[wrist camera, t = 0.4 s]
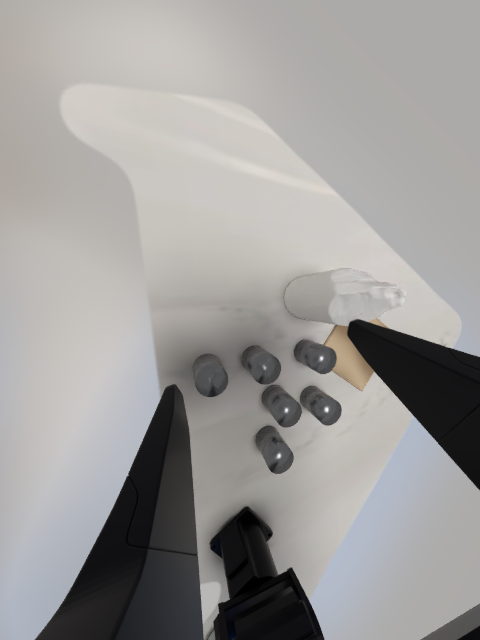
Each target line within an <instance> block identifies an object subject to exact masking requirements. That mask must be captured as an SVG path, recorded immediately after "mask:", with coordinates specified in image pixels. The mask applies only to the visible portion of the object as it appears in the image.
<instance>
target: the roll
mask: <svg viewBox="0 0 480 640" xmlns="http://www.w3.org/2000/svg"><path fill="white" fill-rule="evenodd" d="M406 295H407V293H406V291H405V290H404V289H402V288H400V287H398V286H397V285H395V284H390V283H386V282H378V281H377V280H376V279H375V278H374V277H372V276H371V275H370V274H368V273H366V272H361V271H357V270H354V269H350V268H341V269H336V270H331V271H326V272H322V273H317V274H312V275H308V276H303V277H299V278H296V279H295V280H293V281H292V282H290V284H289V285H288V287H287V288H286V290H285V295H284V302H285V306H286V308H287V309H288V311H289V312H290V313H291V314H292V315H294V316H295V317H297V318H301V319H306V320H312V321H317V322H323V323H329V324H335V325H341V326H349V322H350V321H353V320H355V319H360V320H363V321H367V322H369V321H371V320H374V319H376V318H378V317H380V316H381V315H382V314H384V312H386V311H388V310H390V309H393V308H395V307H398V306H401V305H403V303H404V301H405V297H406Z"/></svg>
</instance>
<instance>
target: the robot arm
mask: <svg viewBox="0 0 480 640" xmlns="http://www.w3.org/2000/svg"><path fill="white" fill-rule="evenodd" d="M347 336H348V338H349V339H350V341H351V342H352V343H353V345H354V346H355V347H356V349H357V350H358V352H359V353H360V354H361V356H362V357H363V359H364V360H365V361H366V362H367V363H368V365H369V366H370V367H371V368H372V369H373V370H374V371H375V373H376V374H377V375H378V376H379V377H380V378H381V379H382V380H383V382H384V383H385V384H386V385H387V386H388V387H389V388H390V390H391V391H392V392H393V393H394V394H395V395H396V396H397V397H398V399H399V400H400V401H401V402H402V403H403V404H404V405H405V406H406V408H407V409H408V410H409V411H410V412H411V413H412V414H413V415H414V417H415V418H416V419H417V420H418V421H419V422H420V423H421V425H422V426H423V427H424V428H425V429H426V430H427V431H428V432H429V434H430V435H431V436H432V437H433V438H434V439H435V440H436V441H437V442H438V444H439V445H440V446H441V447H442V448H443V449H444V451H445V452H446V453H447V454H448V455H449V456H450V457H451V458H452V460H454V462H455V463H456V464H457V465H458V466H459V467H460V468H461V470H462V471H463V472H464V473H465V474H466V475H467V477H468V478H469V479H470V480H471V481H472V482H473V483H474V484H475V486H476V487H477V488H478V489H479V490H480V357H478V356H474V355H470V354H467V353H464V352H461V351H458V350H455V349H451V348H448V347H447V348H446V347H445V346H442V345H439V344H436V343H432V342H429V341H426V340H423V339H420V338H417V337H414V336H410V335H407V334H404V333H401V332H398V331H395V330H392V329H388V328H385V327H382V326H379V325H376V324H373V323H370V322H367V321H363V320H360V319H355V320H353V321H350V322H349V326H348V330H347ZM128 475H129V476H127V478H126V480H125V482H124V485H123V487H122V489H121V491H120V494H119V496H118V498H117V500H116V503H115V505H114V507H113V509H112V511H111V513H110V515H109V517H108V519H107V521H106V523H105V525H104V527H103V529H102V530H101V532H100V534H99V536H98V538H97V540H96V542H95V544H94V546H93V548H92V550H91V551H90V554H89V555H88V557H87V559H86V561H85V563H84V565H83V567H82V569H81V571H80V573H79V574H78V576H77V578H76V580H75V582H74V584H73V586H72V587H71V589H70V591H69V593H68V594H67V596H66V598H65V599H64V601H63V603H62V604H61V605H60V607H59V609H58V610H57V611H56V613H55V614H54V616H53V617H52V619H51V620H50V621H49V623H48V624H47V625H46V626H45V628H44V629H43V630H42V632H41V633H40V634H39V635H38V636H37V638H36V639H35V640H204V638H203V623H202V610H201V594H200V580H199V565H198V556H197V555H198V552H197V537H196V522H195V508H194V493H193V479H192V464H191V449H190V435H189V427H188V421H187V416H186V410H185V405H184V400H183V396H182V393H181V392H180V390H179V389H178V387H177V385H175V384H173V385H170V386H167V387H166V388H165V390H164V393H163V395H162V397H161V400H160V402H159V404H158V407H157V409H156V411H155V414H154V416H153V418H152V420H151V423H150V425H149V427H148V430H147V432H146V434H145V437H144V439H143V441H142V444H141V446H140V448H139V450H138V453H137V455H136V457H135V459H134V462H133V464H132V467H131V469H130V471H129V473H128ZM272 535H273V533H272V530H271V529H270V528H269V527H268V526H267V525H266V524H265V523H264V522H263V521H262V520H261V519H260V518H259V517H258V516H257V515H256V514H255V513H254V512H253V511H252V510H251V509H250V508H245V509H244V510H243V511H242V512H241V513H240V514H239V515H238V516H237V517H236V518H235V519H234V520H233V521H232V522H231V523H229V524H228V525H227V526H226V527H225V528H224V529H223V530H222V531H221V532H220V533H219V534H218V535H217V536H216V537H215V538H214V539H213V540H212V541H211V543H210V548H211V550H212V551H214V552H215V553H216V554H217V555H219V556H220V557H221V558H222V559H223V563H224V569H225V575H226V579H227V585H228V592H229V598H230V600H228V601H226V602H224V603H223V602H221V603H219V604H218V606H219V614H218V616H217V617H216V619H215V620H214V632H215V640H324V637H323V634H322V631H321V628H320V625H319V622H318V620H317V617H316V615H315V613H314V610H313V608H312V606H311V604H310V602H309V600H308V598H307V596H306V594H305V592H304V590H303V588H302V586H301V584H300V582H299V580H298V578H297V576H296V575H295V573H294V571H293V569H292V567H291V568H289V569H287V571H286V572H284V573H282V574H280V575H278V573H277V570H276V567H275V564H274V561H273V559H272V556H271V553H270V550H269V547H268V544H267V541H268V540H269V539H270V538H271V537H272ZM421 640H480V604H478V605H477V606H475V607H473V608H472V609H470V610H469V611H467V612H465V613H464V614H462V615H460V616H459V617H457V618H455V619H454V620H452V621H450V622H449V623H447V624H446V625H444V626H443V627H441V628H439V629H437V630H436V631H434V632H432V633H431V634H429V635H428V636H426V637H424V638H423V639H421Z"/></svg>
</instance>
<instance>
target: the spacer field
mask: <svg viewBox="0 0 480 640" xmlns="http://www.w3.org/2000/svg"><path fill="white" fill-rule="evenodd" d="M294 355H295V358H296V360H297V361H299V362H300V363H302V364H304V365H306V366H307V367H309V368H311V369H313V370H314V371H316V372H318V373H320V374H326V373H329V372H330V371H331V370H332V369H333V368H334V367H335V365H336V361H337V356H336V353H335V351H334V350H333V349H332V348H330V347H327V346H324V345H322V344H319V343H316V342H313V341H310V340H302V341H300V342H299V343H298V344H297V345H296V347H295V350H294ZM242 364H243V366H244V367H245V369H246V370H247V371H248V372H249V373H250V374H251V375H252V376H253V378H254V379H255V380H256V381H257V382H258V383H260V384H270V383H272V382H274V381H275V380H276V379H277V378H278V376H279V374H280V371H281V365H280V362H279V360H278V359H277V358H276V357H274V356H273V355H271V354H270V353H268V352H267V351H265V350H264V349H262V348H261V347H259V346H251V347H249V348H247V349H246V350H245V351H244V353H243V355H242ZM193 373H194V379H195V385H196V388H197V390H198V392H199V393H200V394H202V395H203V396H206V397H214V396H217V395H219V394H221V393H222V392H223V391H224V390H225V388H226V386H227V384H228V376H227V373H226V371H225V370H224V368H223V366H222V364H221V363H220V361H219V359H218V358H217V357H216V356H214V355H211V354H205V355H202V356H200V357H198V358H197V359H196V361H195V362H194V365H193ZM262 401H263V404H264V405H265V407H266V408H267V409H268V411H269V412H270V413H271V415H272V416H273V417H274V419H275V420H276V421H277V422H278V424H279V425H280V426H282V427H291V426H293V425H294V424H296V423H297V422H298V420H299V419H300V417H301V413H302V410H301V406H300V404H299V403H298V402H297V401H296V400H295V399H294V398H292V397H291V396H290V395H289V394H288V393H287V392H286V391H285V390H284V389H283V388H282V387H280V386H278V385H272V386H270V387H268V388H267V389H266V390H265V391H264V393H263V396H262ZM300 402H301V404H302V405H303V406H304V407H305V408H306V409H307V410H308V411H309V412H310V413H311V414H312V415H313V416H315V417H316V418H317V419H318V420H319V421H320V422H321V423H322V424H324V425H332V424H334V423H335V422H336V421H337V420H338V419H339V417H340V415H341V410H342V409H341V405H340V403H339V402H337V401H336V400H334V399H333V398H332V397H330V396H329V395H327V394H326V393H324V392H323V391H321V390H320V389H318V388H317V387H315V386H309V387H307V388H305V389H304V390H303V392H302V394H301V397H300ZM256 444H257V446H258V448H259V450H260V452H261V454H262V456H263V458H264V460H265V462H266V464H267V465H268V467H269V469H270V471H271V472H273V473H275V474H280V473H283V472H285V471H287V470H288V469H289V468H290V466H291V465H292V463H293V458H294V456H293V453H292V451H291V450H290V448H289V447H288V445H287V444H286V443H285V441H284V440H283V438H282V437H281V436H280V434H279V433H278V431H277V430H276V429H275V428H274V427H272V426H267V427H264V428H262V429H261V430H260V431H259V432H258V434H257V436H256Z"/></svg>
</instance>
